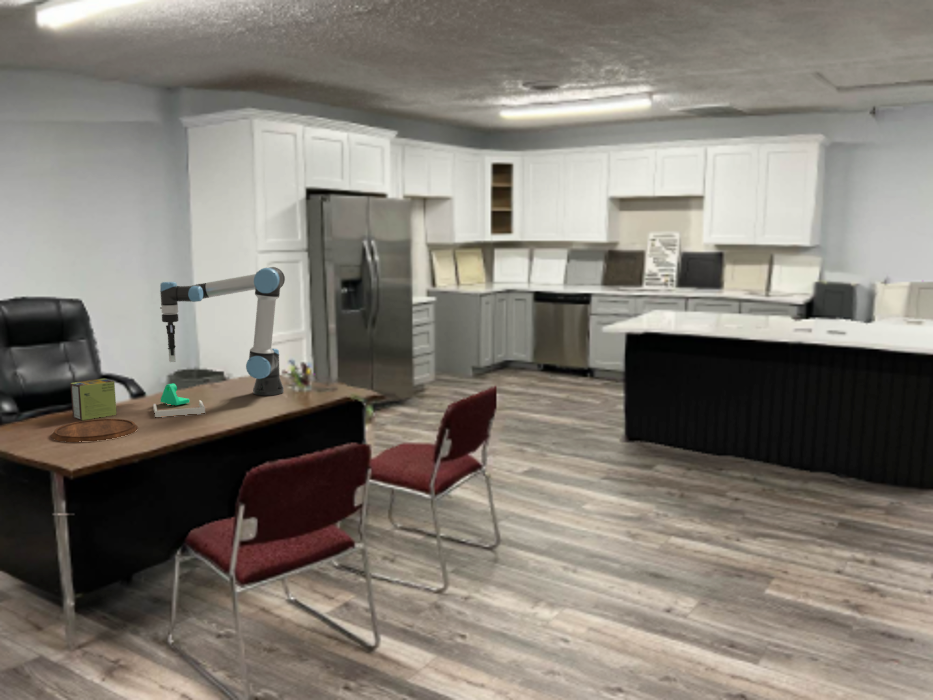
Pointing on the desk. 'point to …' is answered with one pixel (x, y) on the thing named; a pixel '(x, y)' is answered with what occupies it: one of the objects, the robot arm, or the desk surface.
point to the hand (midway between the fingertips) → (172, 361)
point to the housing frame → (180, 411)
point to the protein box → (93, 399)
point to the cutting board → (94, 430)
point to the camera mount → (172, 396)
